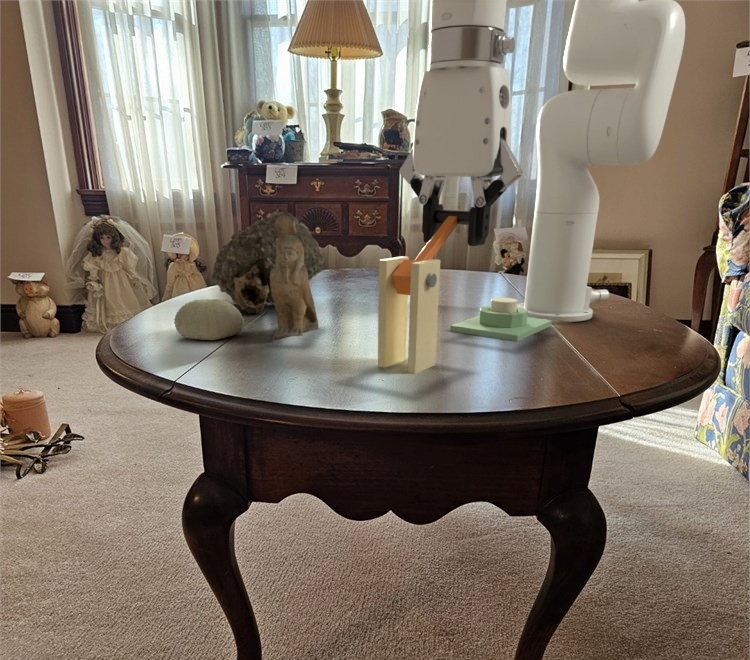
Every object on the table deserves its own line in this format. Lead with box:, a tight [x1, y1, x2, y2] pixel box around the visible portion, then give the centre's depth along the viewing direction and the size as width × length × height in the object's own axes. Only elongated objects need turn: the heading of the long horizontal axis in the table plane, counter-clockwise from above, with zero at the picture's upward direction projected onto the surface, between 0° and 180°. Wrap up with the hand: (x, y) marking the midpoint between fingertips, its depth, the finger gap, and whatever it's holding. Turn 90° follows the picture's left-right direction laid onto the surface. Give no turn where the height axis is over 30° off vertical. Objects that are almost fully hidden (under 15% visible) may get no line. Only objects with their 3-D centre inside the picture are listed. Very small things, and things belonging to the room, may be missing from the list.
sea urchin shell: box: [173, 298, 244, 342], centre depth 92 cm, size 9×8×8 cm
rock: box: [211, 209, 326, 314], centre depth 109 cm, size 18×14×15 cm
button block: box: [449, 305, 553, 342], centre depth 92 cm, size 12×10×4 cm
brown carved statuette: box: [270, 212, 319, 342], centre depth 88 cm, size 12×6×18 cm, turn 170°
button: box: [490, 297, 519, 313], centre depth 91 cm, size 4×4×2 cm
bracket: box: [377, 255, 441, 374], centre depth 72 cm, size 12×9×13 cm
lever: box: [392, 209, 470, 296], centre depth 72 cm, size 13×5×2 cm, turn 145°
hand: (454, 241), depth 75 cm, fingers closed on lever, 5 cm apart
